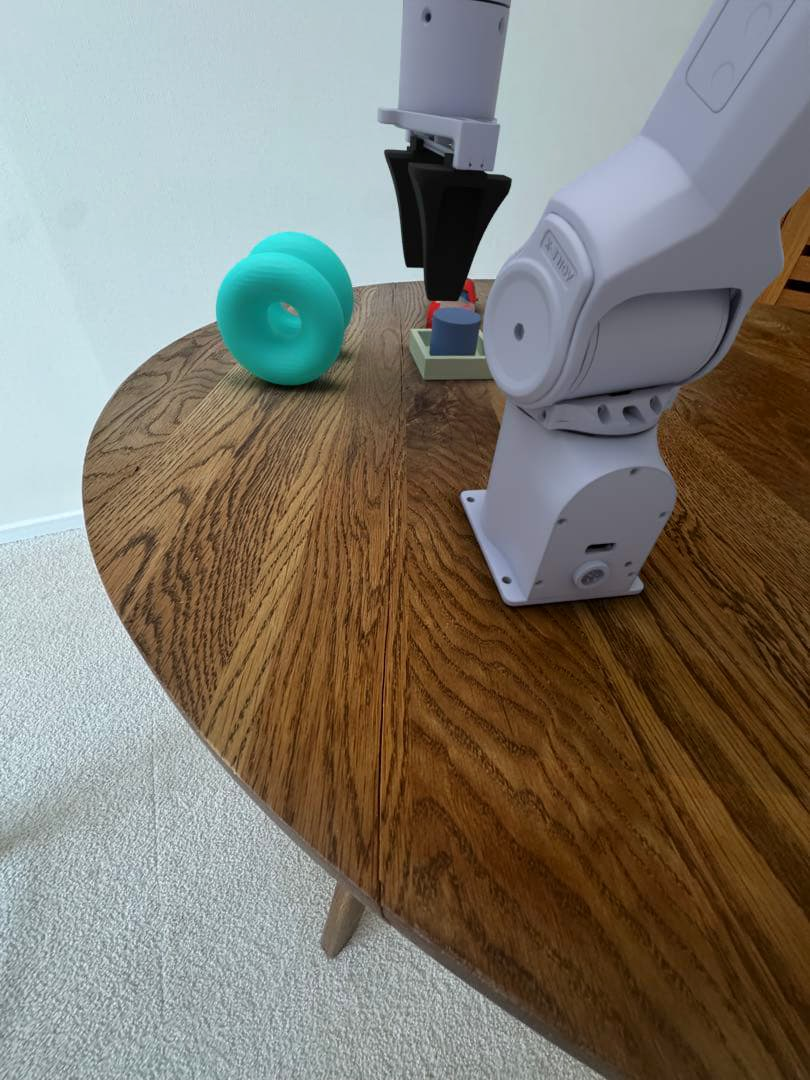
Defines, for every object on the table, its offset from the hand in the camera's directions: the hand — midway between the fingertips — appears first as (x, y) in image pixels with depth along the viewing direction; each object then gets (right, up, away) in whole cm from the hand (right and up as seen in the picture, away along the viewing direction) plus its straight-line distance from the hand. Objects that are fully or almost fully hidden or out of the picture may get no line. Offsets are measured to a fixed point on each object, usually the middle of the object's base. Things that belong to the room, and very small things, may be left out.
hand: (429, 282), depth 36 cm
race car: (+4, +7, +22) cm, 24 cm away
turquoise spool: (-12, -3, +10) cm, 16 cm away
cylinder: (+3, -1, +13) cm, 13 cm away
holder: (+3, -1, +13) cm, 13 cm away
